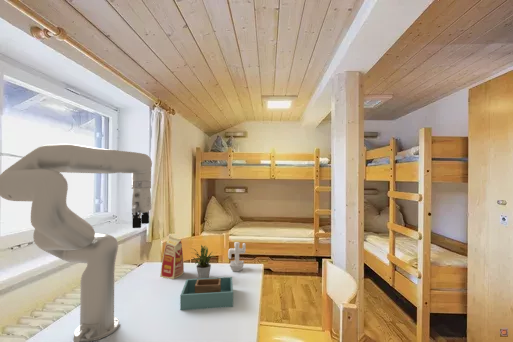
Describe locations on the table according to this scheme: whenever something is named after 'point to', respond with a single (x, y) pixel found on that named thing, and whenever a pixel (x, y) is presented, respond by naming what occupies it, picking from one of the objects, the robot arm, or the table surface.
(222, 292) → the teal crate
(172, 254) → the milk carton
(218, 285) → the walnut crate
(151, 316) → the table surface
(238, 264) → the figurine
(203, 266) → the house plant
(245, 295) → the table surface
